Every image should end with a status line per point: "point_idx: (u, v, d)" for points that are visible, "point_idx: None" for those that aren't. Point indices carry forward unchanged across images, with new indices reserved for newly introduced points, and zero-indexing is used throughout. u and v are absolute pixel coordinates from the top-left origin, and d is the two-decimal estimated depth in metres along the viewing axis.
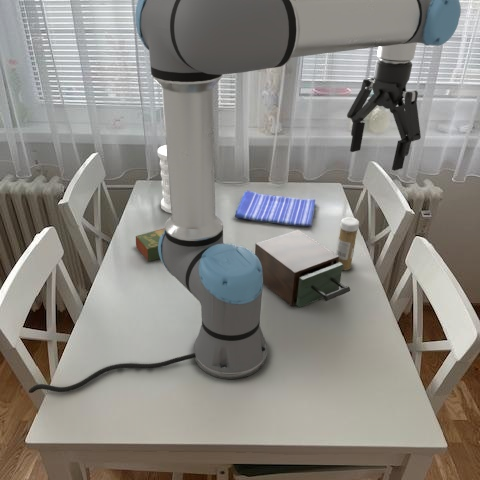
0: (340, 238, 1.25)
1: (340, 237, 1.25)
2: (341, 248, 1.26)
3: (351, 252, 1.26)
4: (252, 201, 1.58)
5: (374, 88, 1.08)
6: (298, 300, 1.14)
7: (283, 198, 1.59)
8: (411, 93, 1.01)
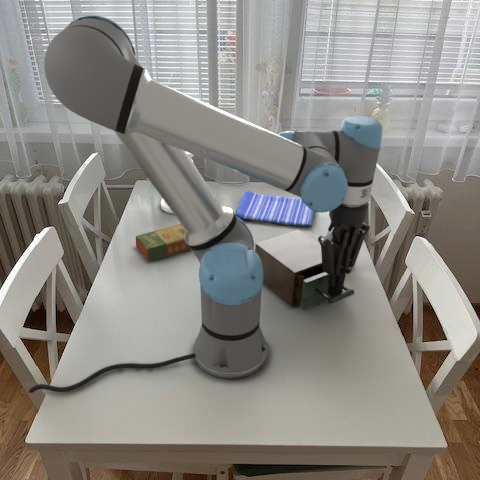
0: None
1: None
2: None
3: None
4: (252, 201, 1.58)
5: None
6: (302, 303, 1.13)
7: (283, 198, 1.59)
8: (319, 240, 1.00)
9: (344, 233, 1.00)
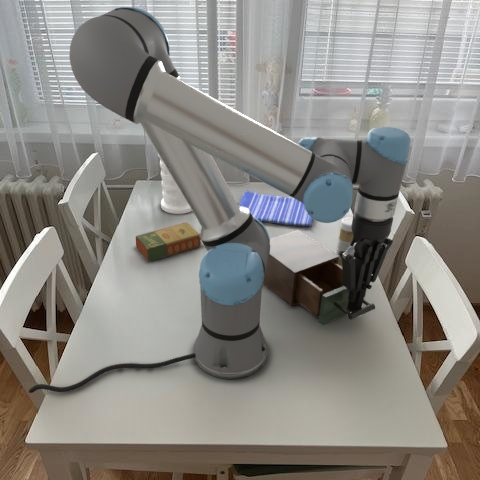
0: (340, 238, 1.25)
1: (340, 237, 1.25)
2: (341, 248, 1.26)
3: None
4: (252, 201, 1.58)
5: None
6: (320, 318, 1.09)
7: (283, 198, 1.59)
8: (341, 255, 0.96)
9: (367, 247, 0.96)
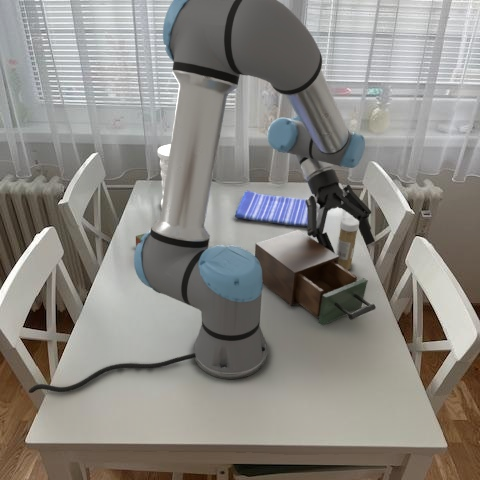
0: (340, 238, 1.25)
1: (340, 237, 1.25)
2: (341, 248, 1.26)
3: (351, 252, 1.26)
4: (252, 201, 1.58)
5: None
6: (320, 318, 1.09)
7: (283, 198, 1.59)
8: (306, 199, 1.24)
9: (327, 194, 1.24)
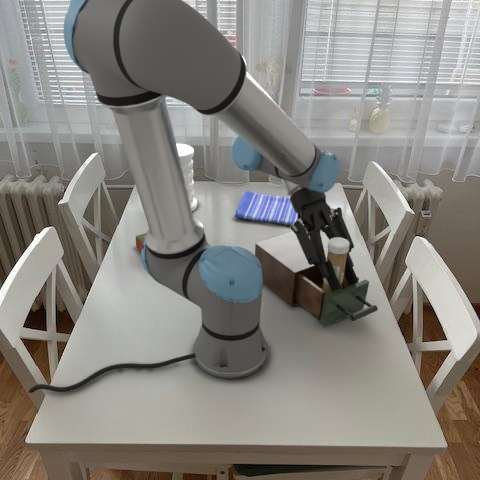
0: None
1: (328, 260, 1.07)
2: None
3: (341, 277, 1.09)
4: (252, 201, 1.58)
5: None
6: (322, 319, 1.09)
7: (283, 198, 1.59)
8: (291, 226, 1.06)
9: (312, 214, 1.07)
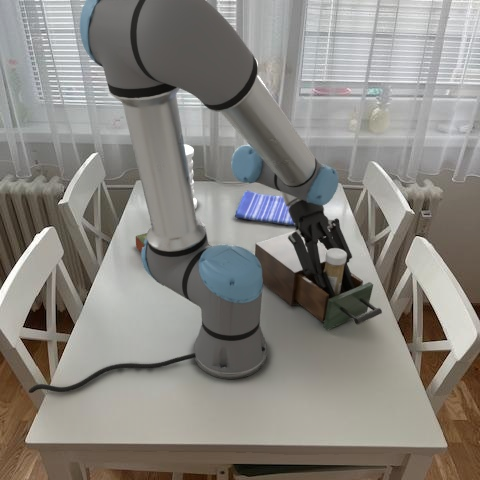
0: None
1: (325, 271, 1.09)
2: None
3: (338, 287, 1.10)
4: (252, 201, 1.58)
5: None
6: (326, 322, 1.08)
7: None
8: (289, 237, 1.08)
9: (310, 225, 1.08)
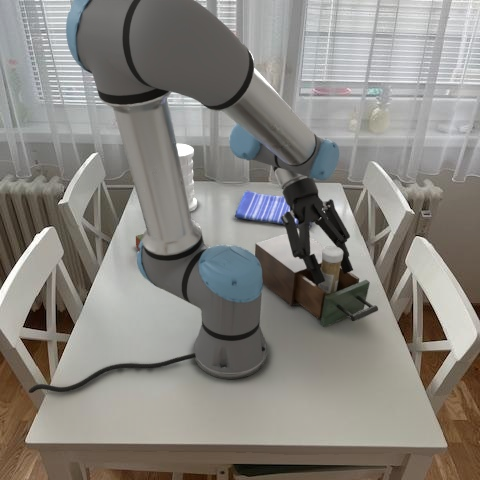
0: (322, 269, 1.10)
1: (322, 268, 1.10)
2: None
3: (335, 285, 1.11)
4: (252, 201, 1.58)
5: None
6: (323, 320, 1.09)
7: (283, 198, 1.59)
8: (282, 217, 1.08)
9: (304, 207, 1.08)
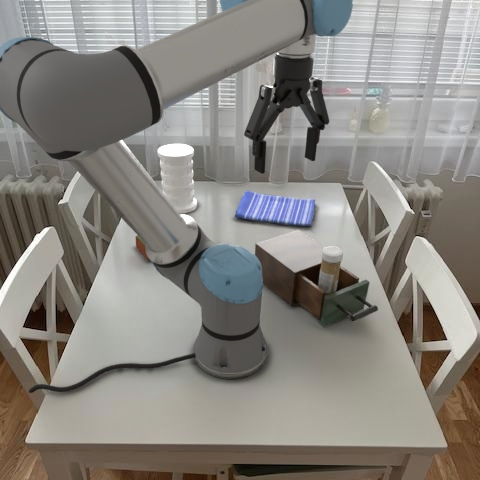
0: (322, 269, 1.10)
1: (322, 268, 1.10)
2: (323, 280, 1.10)
3: (334, 285, 1.11)
4: (252, 201, 1.58)
5: None
6: (322, 320, 1.09)
7: (283, 198, 1.59)
8: (261, 86, 0.92)
9: (290, 90, 0.94)
